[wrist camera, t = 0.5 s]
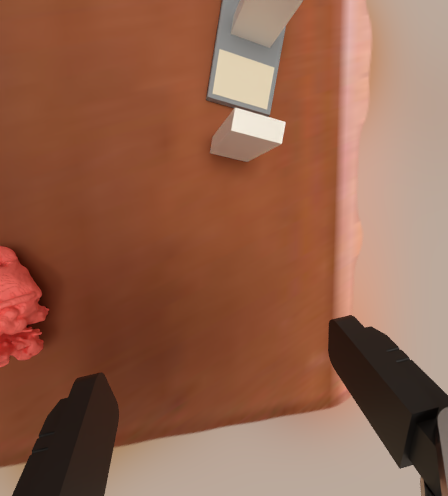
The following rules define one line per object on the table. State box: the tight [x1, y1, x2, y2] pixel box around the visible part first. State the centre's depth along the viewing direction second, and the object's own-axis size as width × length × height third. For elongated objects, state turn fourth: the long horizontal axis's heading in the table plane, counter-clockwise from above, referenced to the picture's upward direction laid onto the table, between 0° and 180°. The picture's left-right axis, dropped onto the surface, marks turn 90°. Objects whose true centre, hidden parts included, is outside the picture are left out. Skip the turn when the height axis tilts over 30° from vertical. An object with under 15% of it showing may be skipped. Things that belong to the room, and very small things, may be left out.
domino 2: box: [210, 108, 286, 162], centre depth 30 cm, size 2×5×10 cm, turn 80°
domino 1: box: [231, 0, 303, 48], centre depth 28 cm, size 2×5×10 cm, turn 80°
